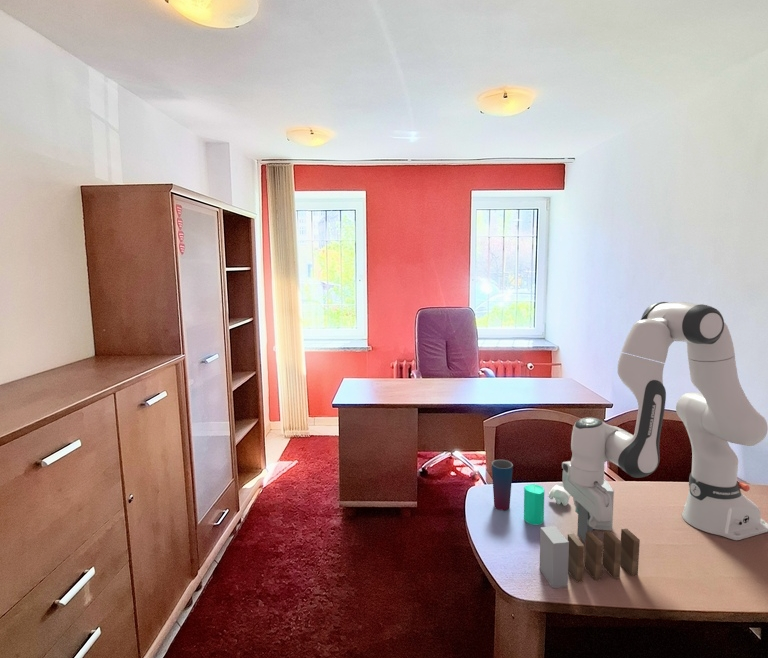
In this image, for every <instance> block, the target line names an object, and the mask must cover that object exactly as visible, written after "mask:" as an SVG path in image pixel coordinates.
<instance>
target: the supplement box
mask: <svg viewBox="0 0 768 658" xmlns="http://www.w3.org/2000/svg"><path fill="white" fill-rule="evenodd" d="M601 486H602V487H604V488H605V489H606V490H607V493H608V494H609V495H610V497H611V500H612V510H613V511H614V497H615V496H614V495H615V494H614V493H615V491H614V489H613V488H612V486H611V485H610V483H609V482H608V480H604V484H603V485H601ZM613 520H614V519H612V520H611V521H610V522H605V523H600V522H598V521H596V526H595V527H593V530H601V531H607V530H610V531H613Z"/></svg>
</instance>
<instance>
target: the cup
mask: <svg viewBox="0 0 768 658" xmlns="http://www.w3.org/2000/svg"><path fill="white" fill-rule="evenodd" d="M513 468H514V464H513V463H512V462H511V461H509V460H507V459H495V460H492V461H491V473H492V474H491V475H492V477H491V478H492V492H493V493H492V494H493V507H494V508H495V509H497V510H499V511H508V510H509V509H510V507H511V495H512V494H511V493H512V481H513Z"/></svg>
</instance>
